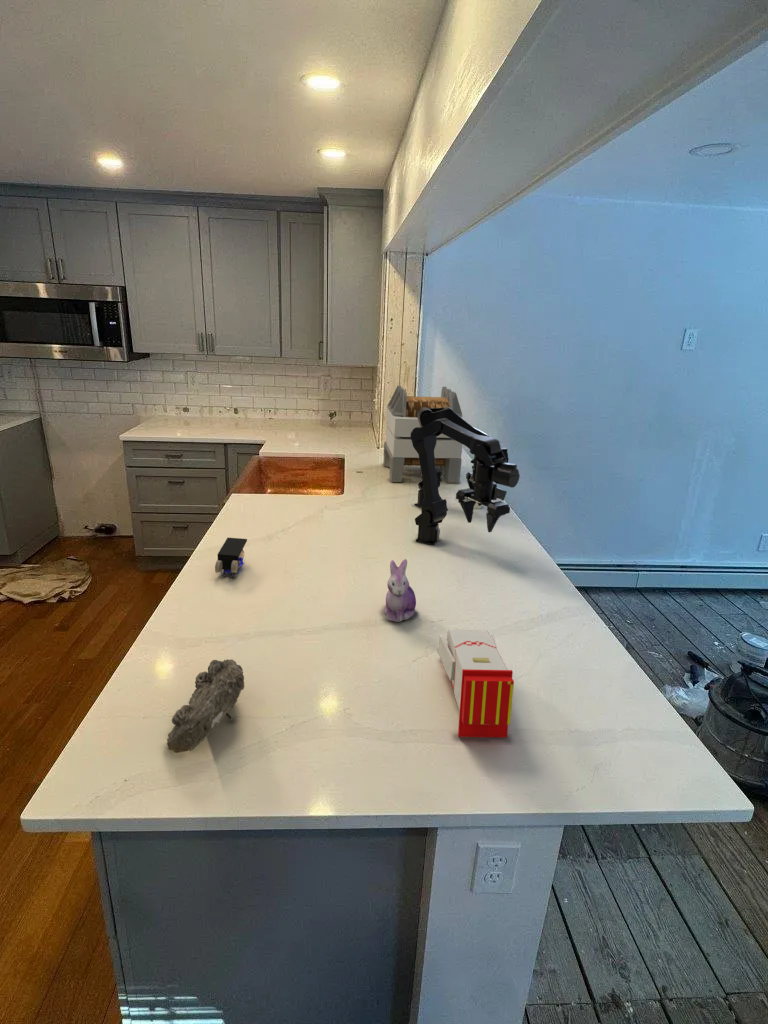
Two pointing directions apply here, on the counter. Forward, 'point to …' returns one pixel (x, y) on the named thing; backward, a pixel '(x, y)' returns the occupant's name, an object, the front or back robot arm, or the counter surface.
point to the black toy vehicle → (230, 556)
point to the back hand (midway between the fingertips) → (476, 501)
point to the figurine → (399, 594)
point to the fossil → (206, 705)
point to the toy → (478, 682)
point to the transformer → (405, 420)
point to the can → (477, 505)
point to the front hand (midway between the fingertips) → (479, 527)
